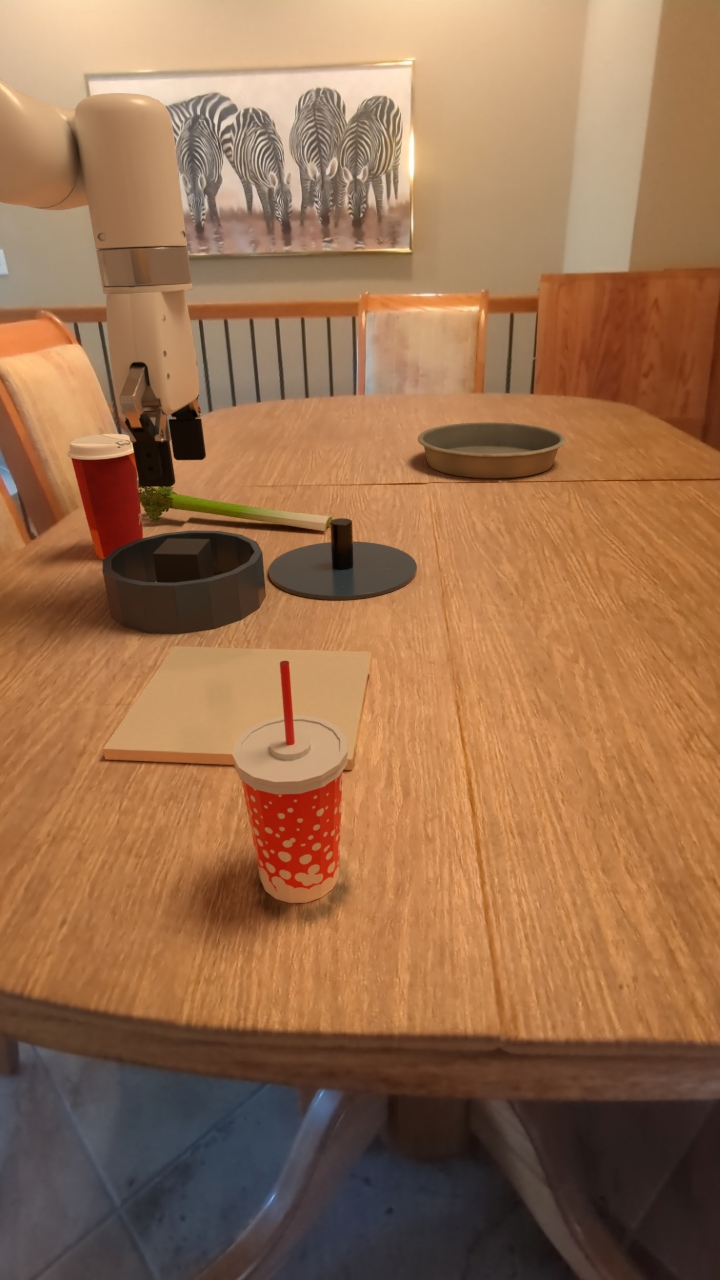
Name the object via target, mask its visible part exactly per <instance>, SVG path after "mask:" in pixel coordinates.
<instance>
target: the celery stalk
mask: <svg viewBox="0 0 720 1280" xmlns="http://www.w3.org/2000/svg"><path fill="white" fill-rule="evenodd" d="M138 488H139V498H140V506H142V508H143V511H144V513H145V515H147V516H149V517H148V519H149V520H150V522H151V523H152V522H153V523H157V522H159V521H160V520H161V519H163V516H162V515H163V513H165V512H166V513H167V512H169V511H170V509H173V510H180V511H186V512H195V513H204V514H211V515H217V516H222V517H231V518H236V519H242V520H249V521H257V522H261V523H262V522H263V523H270V524H276V525H283V526H291V527H296V528H301V529H302V528H303V529H309V530H314V531H320V532H326V531H327V529H328V528H330V522H331V521H332V520H333V517H332V516H330V515H323V514H321V515H320V514H311V513H305V512H297V511H294V512H293V511H286V510H280V509H273V508H272V509H271V508H266V507H265V508H264V507H258V506H252V505H251V506H250V505H243V504H238V503H237V504H236V503H231V502H224V501H217V500H212V499H211V500H210V499H205V498H200V497H195V496H190V495H184V494H180V493H177V492H175V491H174V488H175V487H173V486H171V487H142V486H141V485H140V484H139V480H138Z"/></svg>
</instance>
